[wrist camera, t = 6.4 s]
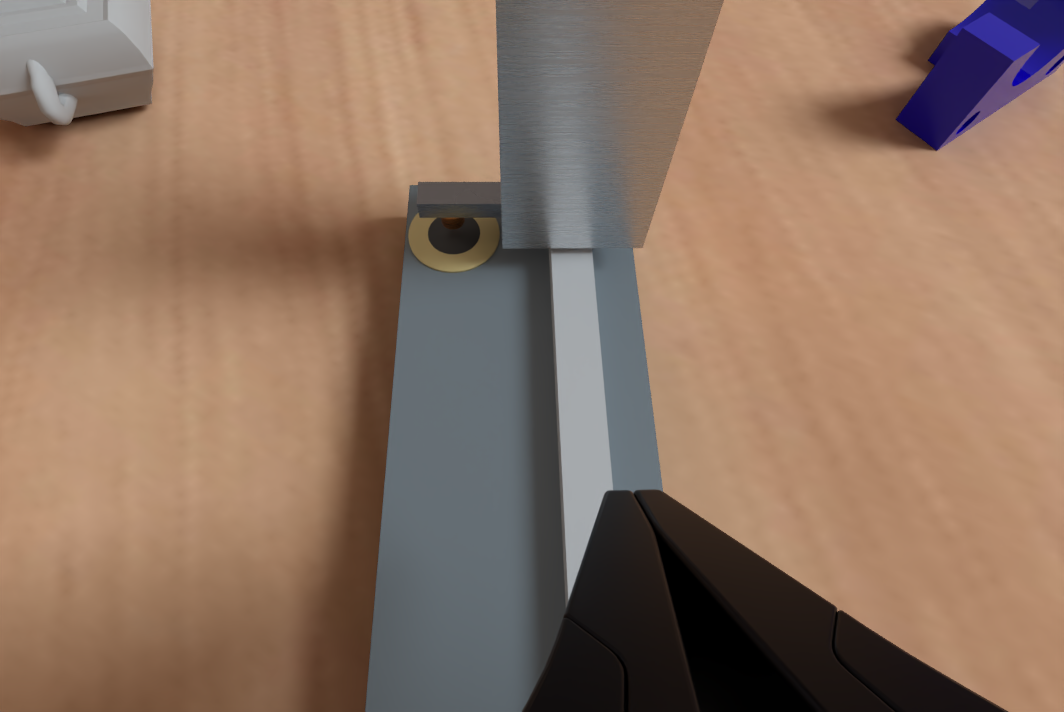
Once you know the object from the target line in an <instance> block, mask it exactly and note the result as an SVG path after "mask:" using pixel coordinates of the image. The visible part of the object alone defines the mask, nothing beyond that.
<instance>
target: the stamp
mask: <svg viewBox="0 0 1064 712" xmlns="http://www.w3.org/2000/svg"><path fill="white" fill-rule="evenodd" d="M152 85H153V49H152V27H151V6H150V0H0V119H1V120H6V121H12V122H15V123H17V124H20V125H23V126H31V125H37V124H42V123H48V122H52V123H54V124H56V125H68V124H70V123H71V122H72V119H73V118H75V117H81V116H86V115H92V114H98V113H103V112H109V111H114V110H120V109H125V108H131V107H136V106H142V105H147V104H152V95H151V90H152Z"/></svg>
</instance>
